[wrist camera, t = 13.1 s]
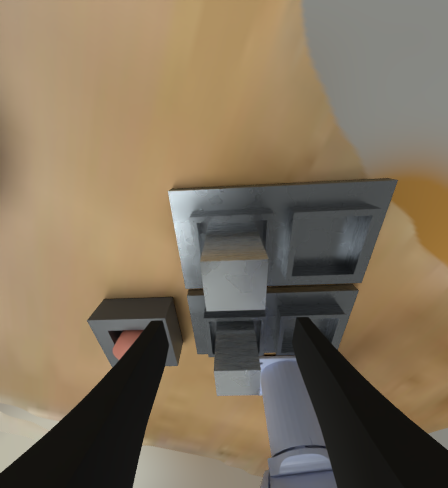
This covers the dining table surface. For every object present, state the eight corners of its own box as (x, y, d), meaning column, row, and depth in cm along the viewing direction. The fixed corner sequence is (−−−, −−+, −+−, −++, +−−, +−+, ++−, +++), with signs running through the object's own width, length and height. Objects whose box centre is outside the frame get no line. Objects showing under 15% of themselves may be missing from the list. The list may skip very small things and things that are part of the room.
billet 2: (251, 337, 23) (259, 394, 18) (219, 338, 23) (216, 395, 18) (252, 314, 21) (261, 370, 16) (216, 315, 21) (213, 371, 16)
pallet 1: (355, 276, 20) (371, 292, 18) (187, 282, 20) (182, 298, 18) (387, 178, 15) (415, 183, 13) (171, 188, 16) (162, 195, 14)
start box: (182, 342, 25) (177, 365, 22) (124, 344, 25) (112, 367, 23) (172, 297, 21) (164, 318, 19) (104, 299, 22) (86, 320, 19)
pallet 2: (333, 343, 25) (343, 362, 23) (198, 347, 25) (196, 366, 23) (352, 284, 20) (368, 300, 18) (188, 289, 21) (184, 306, 19)
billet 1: (253, 261, 18) (265, 309, 13) (212, 263, 18) (206, 311, 13) (254, 222, 16) (268, 259, 11) (208, 224, 16) (199, 261, 11)
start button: (161, 343, 23) (154, 364, 21) (129, 344, 23) (119, 365, 21) (154, 320, 21) (146, 340, 19) (119, 321, 21) (107, 341, 19)
